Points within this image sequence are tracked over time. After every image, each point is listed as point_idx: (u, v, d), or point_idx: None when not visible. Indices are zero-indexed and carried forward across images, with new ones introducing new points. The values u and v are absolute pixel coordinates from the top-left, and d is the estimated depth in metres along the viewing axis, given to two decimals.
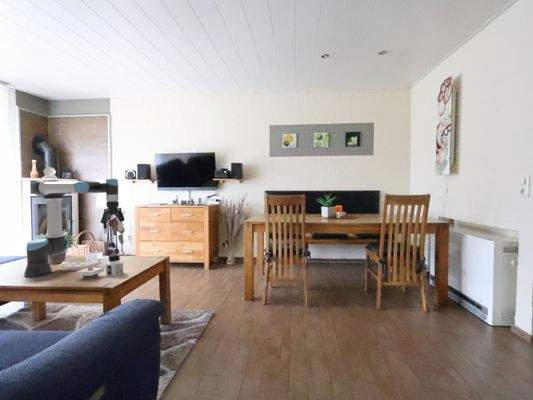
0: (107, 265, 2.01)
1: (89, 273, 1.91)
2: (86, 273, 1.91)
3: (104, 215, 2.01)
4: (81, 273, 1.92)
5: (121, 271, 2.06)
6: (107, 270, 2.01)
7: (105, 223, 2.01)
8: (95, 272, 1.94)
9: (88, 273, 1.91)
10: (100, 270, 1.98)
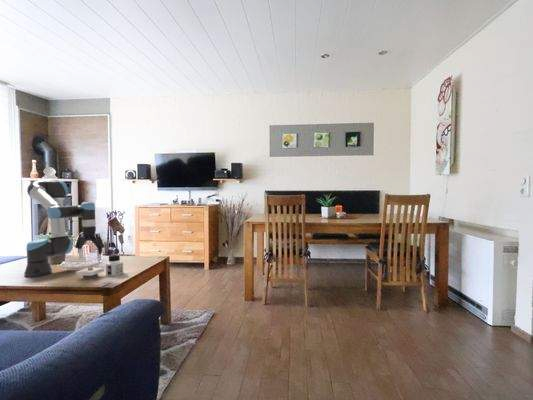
0: (107, 265, 2.01)
1: (89, 273, 1.91)
2: (86, 273, 1.91)
3: None
4: (81, 273, 1.92)
5: (121, 271, 2.06)
6: (107, 270, 2.01)
7: (78, 248, 1.97)
8: (95, 272, 1.94)
9: (88, 273, 1.91)
10: (100, 270, 1.98)
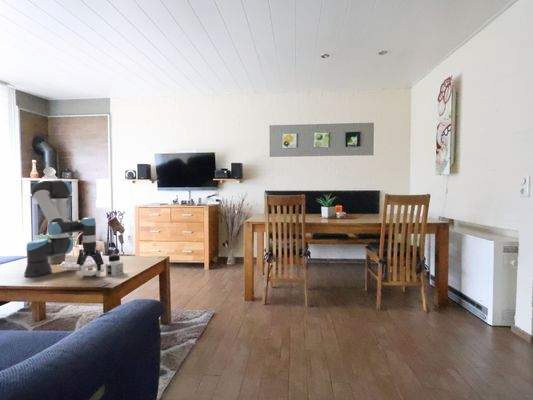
0: (107, 265, 2.01)
1: (89, 273, 1.91)
2: (86, 273, 1.91)
3: None
4: (81, 273, 1.92)
5: (121, 271, 2.06)
6: (107, 270, 2.01)
7: None
8: (95, 272, 1.94)
9: (88, 273, 1.91)
10: (100, 270, 1.98)
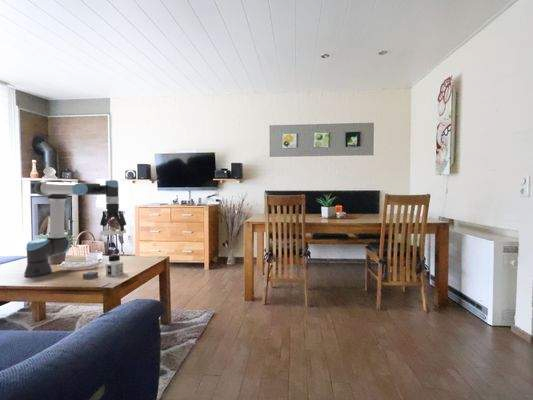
0: (107, 265, 2.01)
1: (113, 232, 1.97)
2: (110, 233, 1.98)
3: None
4: (105, 233, 1.99)
5: (121, 271, 2.06)
6: (107, 270, 2.01)
7: (103, 226, 2.04)
8: (118, 232, 2.01)
9: (111, 232, 1.98)
10: (123, 231, 2.05)
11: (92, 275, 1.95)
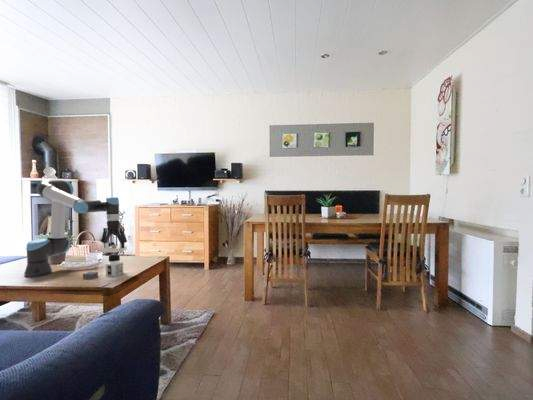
0: (107, 265, 2.01)
1: (113, 250, 1.98)
2: (111, 250, 1.98)
3: None
4: (106, 250, 1.99)
5: (121, 271, 2.06)
6: (107, 270, 2.01)
7: None
8: (119, 249, 2.01)
9: (112, 249, 1.98)
10: None
11: (92, 275, 1.95)
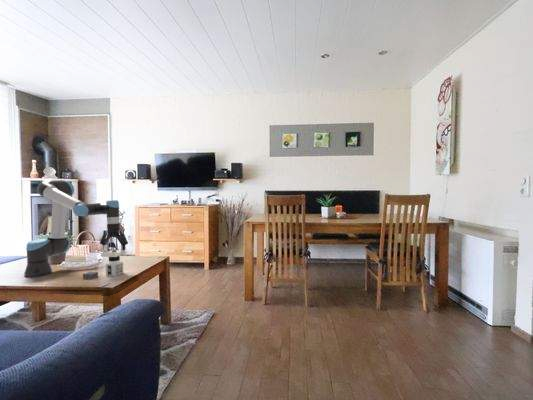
0: (107, 265, 2.01)
1: (113, 254, 1.98)
2: (111, 254, 1.98)
3: None
4: (106, 255, 1.99)
5: (121, 271, 2.06)
6: (107, 270, 2.01)
7: (102, 244, 2.05)
8: (119, 253, 2.01)
9: (112, 254, 1.98)
10: None
11: (92, 275, 1.95)
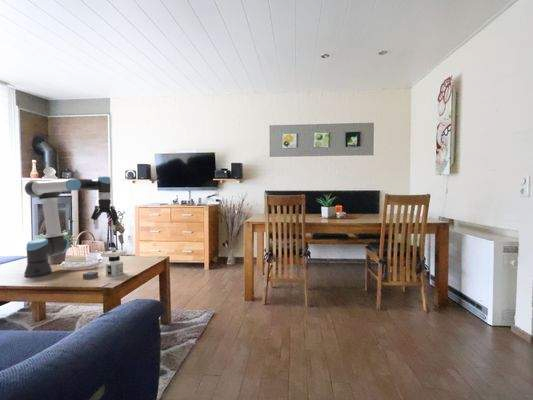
0: (107, 265, 2.01)
1: (113, 254, 1.98)
2: (111, 254, 1.98)
3: None
4: (106, 255, 1.99)
5: (121, 271, 2.06)
6: (107, 270, 2.01)
7: (93, 219, 2.11)
8: (119, 253, 2.01)
9: (112, 254, 1.98)
10: (123, 252, 2.06)
11: (92, 275, 1.95)
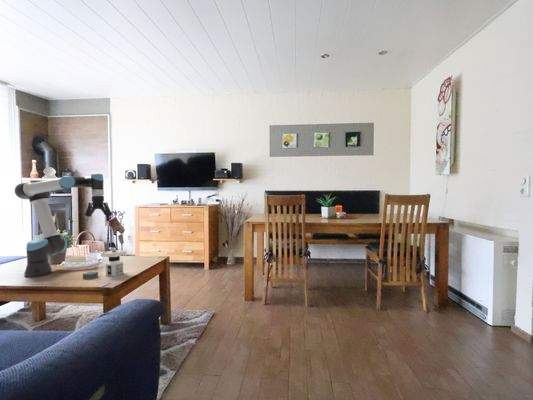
0: (107, 265, 2.01)
1: (113, 254, 1.98)
2: (111, 254, 1.98)
3: None
4: (106, 255, 1.99)
5: (121, 271, 2.06)
6: (107, 270, 2.01)
7: (87, 216, 2.16)
8: (119, 253, 2.01)
9: (112, 254, 1.98)
10: (123, 252, 2.06)
11: (92, 275, 1.95)
